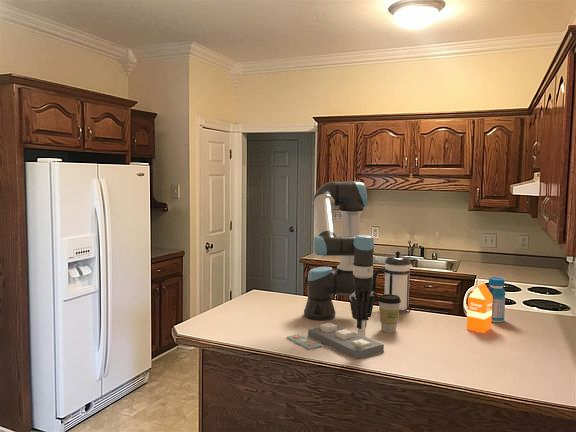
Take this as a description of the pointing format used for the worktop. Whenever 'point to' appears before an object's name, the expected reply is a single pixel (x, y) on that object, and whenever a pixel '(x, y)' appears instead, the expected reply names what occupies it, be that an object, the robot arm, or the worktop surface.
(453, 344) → the worktop surface
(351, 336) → the button middle
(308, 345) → the card
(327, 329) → the button left
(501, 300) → the beverage bottle
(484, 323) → the orange juice
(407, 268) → the coffee press
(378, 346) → the board
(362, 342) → the button right
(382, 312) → the coffee cup
